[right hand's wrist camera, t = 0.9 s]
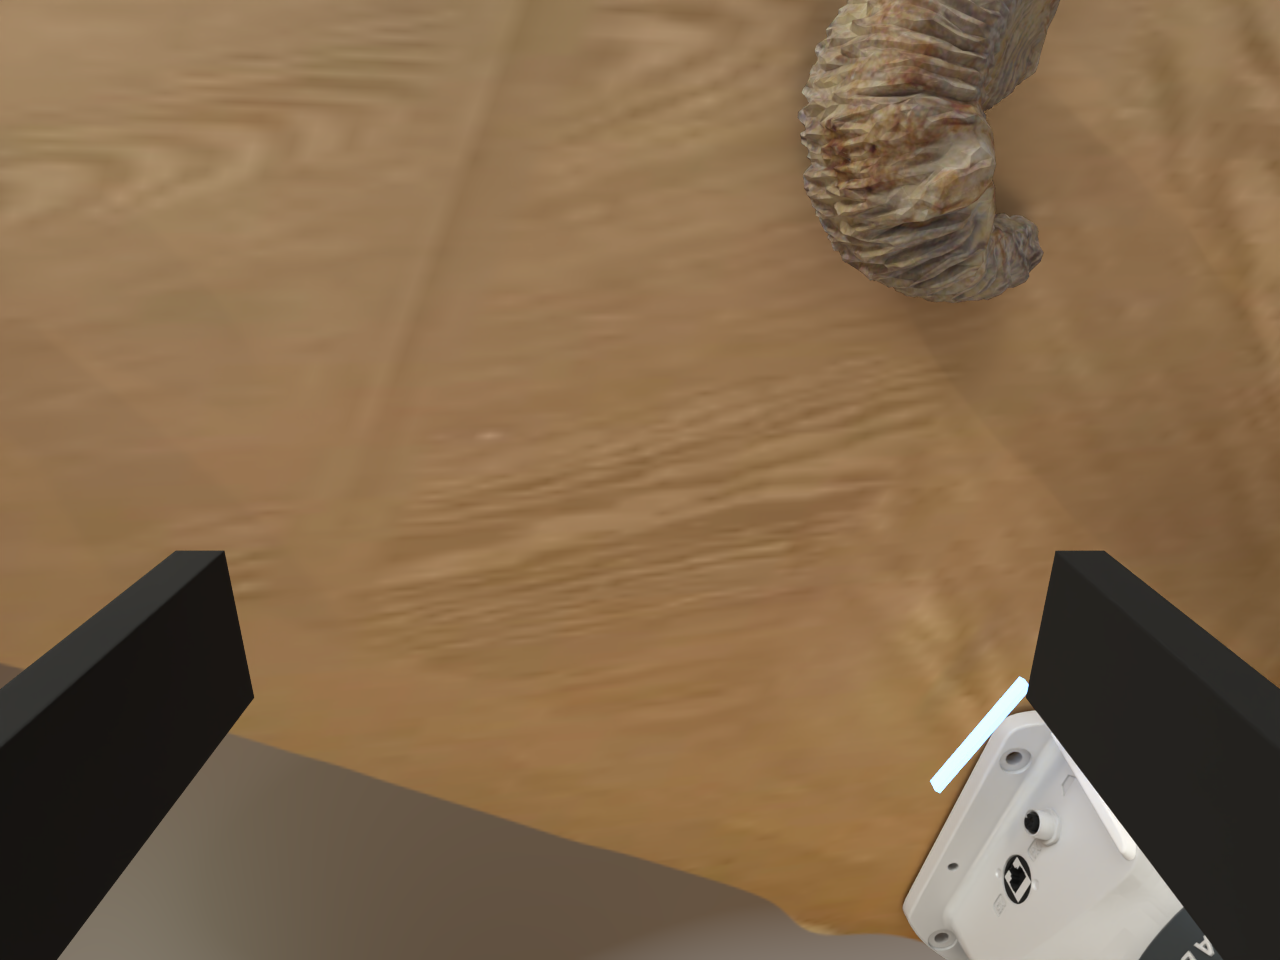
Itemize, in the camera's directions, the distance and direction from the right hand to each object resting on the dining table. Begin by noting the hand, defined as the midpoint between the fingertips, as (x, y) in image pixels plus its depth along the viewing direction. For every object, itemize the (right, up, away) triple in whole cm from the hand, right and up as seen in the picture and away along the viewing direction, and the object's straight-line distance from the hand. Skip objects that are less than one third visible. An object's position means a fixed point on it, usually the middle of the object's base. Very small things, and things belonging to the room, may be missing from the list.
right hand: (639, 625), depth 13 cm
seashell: (+12, +17, +20) cm, 29 cm away
